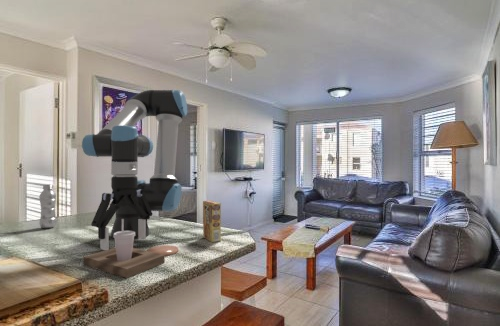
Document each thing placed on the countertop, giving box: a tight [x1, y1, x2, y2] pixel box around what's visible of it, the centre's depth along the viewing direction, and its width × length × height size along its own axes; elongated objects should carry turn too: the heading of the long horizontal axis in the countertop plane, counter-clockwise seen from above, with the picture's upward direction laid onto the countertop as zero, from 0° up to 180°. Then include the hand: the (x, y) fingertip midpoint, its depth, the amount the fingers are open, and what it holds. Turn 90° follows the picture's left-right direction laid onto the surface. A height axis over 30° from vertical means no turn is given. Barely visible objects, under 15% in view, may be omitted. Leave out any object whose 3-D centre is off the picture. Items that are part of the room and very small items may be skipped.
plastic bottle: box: [38, 184, 58, 229], centre depth 140 cm, size 6×7×20 cm
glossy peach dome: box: [145, 244, 180, 257], centre depth 107 cm, size 11×11×1 cm
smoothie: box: [112, 219, 135, 262], centre depth 94 cm, size 6×6×14 cm
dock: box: [82, 246, 165, 279], centre depth 94 cm, size 20×14×2 cm
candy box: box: [202, 200, 222, 243], centre depth 123 cm, size 9×4×15 cm, turn 33°
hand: (124, 243), depth 94 cm, fingers open, 13 cm apart
